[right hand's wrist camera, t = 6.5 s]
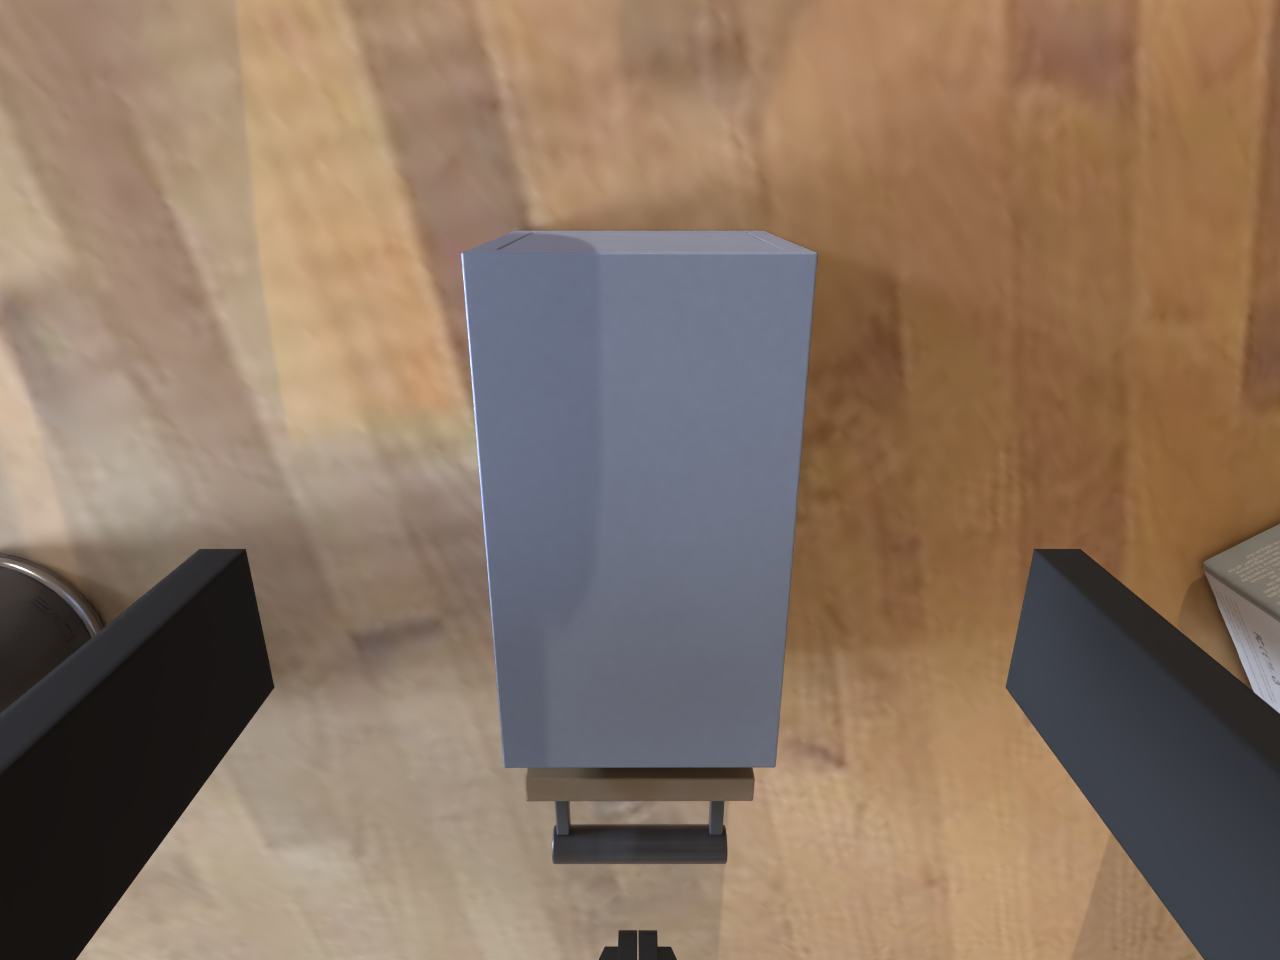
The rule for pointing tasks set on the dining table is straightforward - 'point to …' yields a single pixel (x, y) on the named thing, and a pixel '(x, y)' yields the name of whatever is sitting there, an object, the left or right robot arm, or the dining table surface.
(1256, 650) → the hard drive box
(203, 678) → the right robot arm
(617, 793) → the drawer
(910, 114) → the dining table surface
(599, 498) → the cabinet
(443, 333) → the dining table surface
